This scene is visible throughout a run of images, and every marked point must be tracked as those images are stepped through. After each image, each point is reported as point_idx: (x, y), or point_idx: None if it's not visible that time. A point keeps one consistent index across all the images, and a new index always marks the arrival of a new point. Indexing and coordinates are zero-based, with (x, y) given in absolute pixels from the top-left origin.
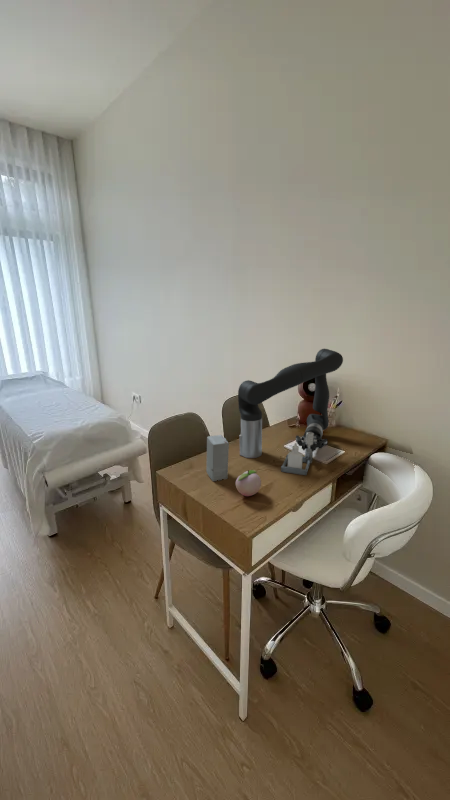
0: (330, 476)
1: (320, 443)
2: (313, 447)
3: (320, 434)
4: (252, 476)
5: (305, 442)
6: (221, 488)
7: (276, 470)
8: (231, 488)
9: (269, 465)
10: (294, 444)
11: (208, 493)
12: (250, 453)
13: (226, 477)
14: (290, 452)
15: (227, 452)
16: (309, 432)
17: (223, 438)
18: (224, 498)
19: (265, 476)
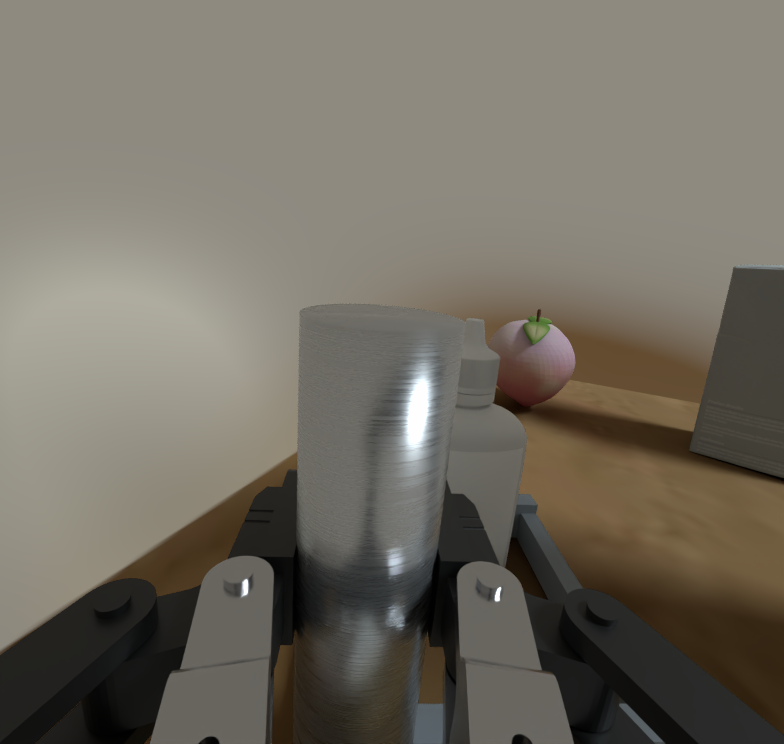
0: (149, 556)
1: (117, 584)
2: (294, 470)
3: None
4: (515, 321)
5: (450, 556)
6: (632, 417)
7: (566, 544)
8: (605, 420)
9: (674, 594)
10: (483, 329)
11: (635, 403)
12: None
13: (691, 442)
14: (501, 407)
15: (722, 318)
16: (397, 321)
17: None
18: (573, 396)
19: (568, 485)
